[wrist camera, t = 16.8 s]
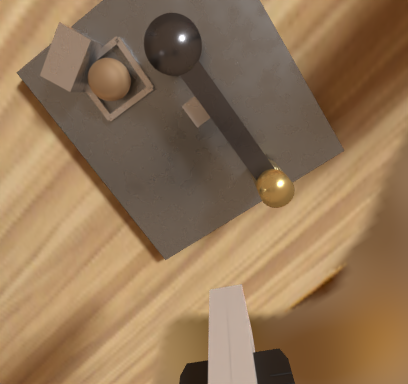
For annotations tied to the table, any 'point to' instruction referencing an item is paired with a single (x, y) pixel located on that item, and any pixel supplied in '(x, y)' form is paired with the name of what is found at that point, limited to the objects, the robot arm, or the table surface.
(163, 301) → the table surface
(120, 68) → the tan wooden ball
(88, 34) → the bench plate
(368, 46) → the table surface
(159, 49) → the lever
